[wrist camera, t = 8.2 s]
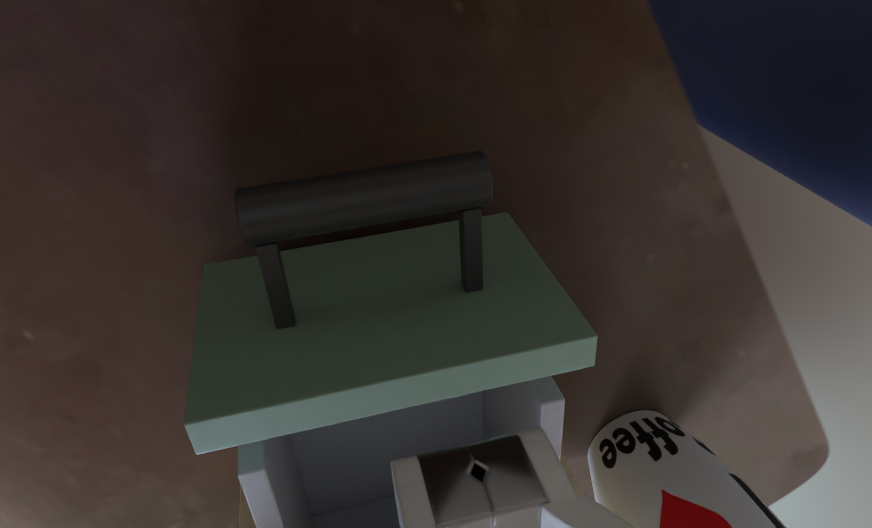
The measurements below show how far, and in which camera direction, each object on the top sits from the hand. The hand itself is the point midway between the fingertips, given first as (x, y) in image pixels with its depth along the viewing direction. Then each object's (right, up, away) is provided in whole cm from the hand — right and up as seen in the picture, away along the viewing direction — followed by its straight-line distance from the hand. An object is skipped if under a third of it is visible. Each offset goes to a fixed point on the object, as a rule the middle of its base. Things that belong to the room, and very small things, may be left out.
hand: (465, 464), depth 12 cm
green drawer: (-3, +1, +14) cm, 14 cm away
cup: (+10, -6, +24) cm, 27 cm away
